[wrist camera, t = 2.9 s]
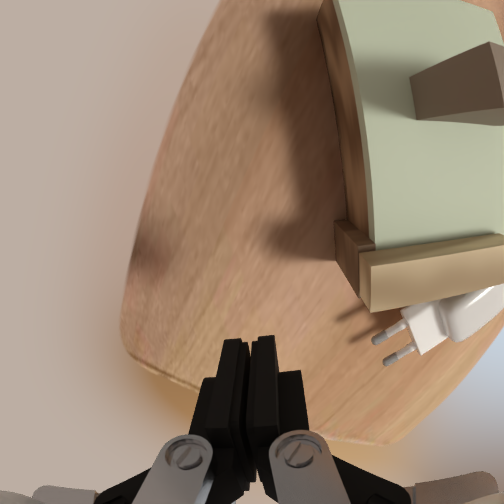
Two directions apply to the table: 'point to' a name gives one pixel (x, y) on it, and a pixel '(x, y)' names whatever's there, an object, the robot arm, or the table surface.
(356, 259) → the brown wooden open box
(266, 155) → the table surface
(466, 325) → the power adapter
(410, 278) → the tan rectangular block
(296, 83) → the table surface
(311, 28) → the table surface
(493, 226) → the lid
